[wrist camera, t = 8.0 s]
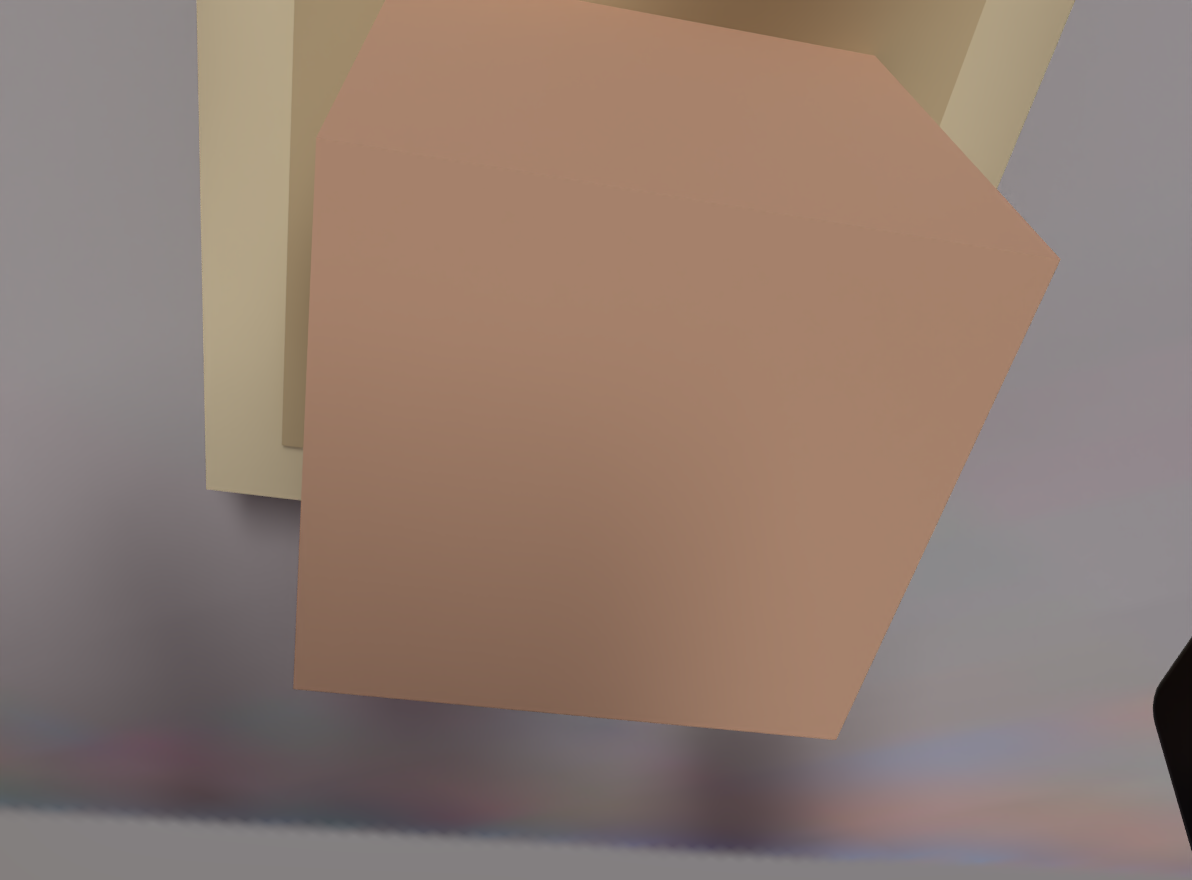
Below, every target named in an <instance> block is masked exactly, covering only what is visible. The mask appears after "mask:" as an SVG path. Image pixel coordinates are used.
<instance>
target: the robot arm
mask: <svg viewBox="0 0 1192 880" xmlns="http://www.w3.org/2000/svg"><path fill="white" fill-rule="evenodd" d="M1153 717H1154V722H1155V726H1156V729H1157V733H1158V736H1159V740H1160V743H1161V747H1162V750H1163V753H1164V757H1165V760H1166V764H1167V767H1168V771H1169V774H1170V778H1171V781H1172V785H1173V788H1174V791H1175V795H1176V798H1177V802H1178V805H1179V809H1180V812H1181V816H1182V819H1183V823H1184V826H1185V830H1186V833H1187V836H1188V840H1189V843H1190V847H1191V850H1192V637H1191V639H1190V640H1189V642H1188V643H1187V645H1186V646H1185V647H1184V649H1183V650H1182V652H1181V653H1180V655H1179V656H1178V658H1177V659H1176V660H1175V662H1174V663H1173V665H1172V666H1171V668H1170V669H1169V671H1168V672H1167V673H1166V675H1165V676H1164V678H1163V679H1162V681H1161V682H1160V684H1159V686H1158V687H1157V689H1156V693H1155V696H1154V701H1153Z"/></svg>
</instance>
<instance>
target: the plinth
mask: <svg viewBox="0 0 1192 880" xmlns="http://www.w3.org/2000/svg"><path fill="white" fill-rule="evenodd" d="M580 1H585V2H590V3H596V4H601V5H606V6H612V7H617V8H622V9H628V10H633V11H639V12H644V13H649V14H655V15H660V16H665V17H671V18H676V19H681V20H687V21H692V22H697V23H703V24H708V25H713V26H719V27H724V28H729V29H735V30H740V31H745V32H751V33H756V34H761V35H767V36H772V37H777V38H783V39H788V40H794V41H799V42H804V43H810V44H815V45H820V46H826V47H831V48H836V49H842V50H847V51H852V52H858V53H863V54H868V55H874V56H876V57H877V58H878V59H879V61H880V62H881V63H882V64H883V65H884V66H885V67H886V68H887V69H888V70H889V72H890V73H891V74H892V75H893V76H894V77H895V78H896V79H897V80H898V81H899V83H900V84H901V85H902V86H903V87H904V88H905V89H906V90H907V91H908V92H909V94H910V95H911V96H912V97H913V98H914V99H915V100H916V101H917V102H918V103H919V104H920V106H921V107H922V108H923V109H924V110H925V111H926V112H927V113H928V114H929V115H930V117H931V118H932V119H933V120H934V121H935V122H936V123H937V124H938V125H939V126H940V128H941V129H942V130H943V131H944V132H945V133H946V134H947V135H948V136H949V137H950V139H951V140H952V141H953V142H954V143H955V144H956V145H957V146H958V147H959V148H960V150H961V151H962V152H963V153H964V154H965V155H966V156H967V157H968V158H969V159H970V161H971V162H972V163H973V164H974V165H975V166H976V167H977V168H978V169H979V170H980V172H981V173H982V174H983V175H984V176H985V177H986V178H987V179H988V180H989V181H990V183H991V184H992V185H993V186H994V187H995V188H996V189H997V187H998V185H999V183H1000V180H1001V178H1002V175H1003V173H1004V171H1005V168H1006V166H1007V163H1008V161H1009V158H1010V156H1011V154H1012V151H1013V149H1014V146H1015V144H1016V142H1017V139H1018V137H1019V134H1020V132H1021V130H1022V127H1023V125H1024V122H1025V120H1026V118H1027V115H1028V113H1029V110H1030V108H1031V105H1032V103H1033V101H1034V98H1035V96H1036V93H1037V91H1038V89H1039V86H1040V84H1041V81H1042V79H1043V77H1044V74H1045V72H1046V69H1047V67H1048V65H1049V62H1050V60H1051V57H1052V55H1053V53H1054V50H1055V48H1056V45H1057V43H1058V40H1059V38H1060V36H1061V33H1062V31H1063V28H1064V26H1065V24H1066V21H1067V19H1068V16H1069V14H1070V12H1071V9H1072V7H1073V4H1074V2H1075V0H580ZM384 2H385V0H197V44H198V95H199V146H200V196H201V247H202V297H203V348H204V399H205V449H206V489H208V490H217V491H225V492H234V493H242V494H251V495H259V496H267V497H276V498H284V499H293V500H301V491H302V467H303V443H304V419H305V395H306V371H307V347H308V323H309V298H310V274H311V250H312V226H313V202H314V178H315V154H316V137H317V135H318V133H319V131H320V129H321V127H322V125H323V123H324V121H325V119H326V117H327V115H328V113H329V111H330V109H331V107H332V105H333V103H334V101H335V99H336V97H337V95H338V93H339V91H340V89H341V87H342V85H343V83H344V81H345V79H346V77H347V75H348V73H349V71H350V69H351V67H352V65H353V63H354V61H355V59H356V57H357V55H358V53H359V51H360V49H361V47H362V45H363V43H364V41H365V39H366V37H367V35H368V33H369V31H370V29H371V27H372V25H373V23H374V21H375V19H376V18H377V16H378V14H379V12H380V10H381V8H382V6H383V4H384Z"/></svg>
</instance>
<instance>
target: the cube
mask: <svg viewBox="0 0 1192 880" xmlns="http://www.w3.org/2000/svg"><path fill="white" fill-rule="evenodd" d="M1059 261H1060V258H1059V257H1058V256H1057V255H1056V254H1055V253H1054V252H1053V251H1052V250H1051V248H1050V247H1049V246H1048V245H1047V244H1046V243H1045V242H1044V241H1043V240H1042V239H1041V237H1040V236H1039V235H1038V234H1037V233H1036V232H1035V231H1034V230H1033V229H1032V228H1031V226H1030V225H1029V224H1028V223H1027V222H1026V221H1025V220H1024V219H1023V218H1022V217H1021V215H1020V214H1019V213H1018V212H1017V211H1016V210H1015V209H1014V208H1013V207H1012V206H1011V204H1010V203H1009V202H1008V201H1007V200H1006V199H1005V198H1004V197H1003V196H1002V195H1001V193H1000V192H999V191H998V190H997V189H996V188H995V187H994V186H993V185H992V184H991V183H990V181H989V180H988V179H987V178H986V177H985V176H984V175H983V174H982V173H981V172H980V170H979V169H978V168H977V167H976V166H975V165H974V164H973V163H972V162H971V161H970V159H969V158H968V157H967V156H966V155H965V154H964V153H963V152H962V151H961V150H960V148H959V147H958V146H957V145H956V144H955V143H954V142H953V141H952V140H951V139H950V137H949V136H948V135H947V134H946V133H945V132H944V131H943V130H942V129H941V128H940V126H939V125H938V124H937V123H936V122H935V121H934V120H933V119H932V118H931V117H930V115H929V114H928V113H927V112H926V111H925V110H924V109H923V108H922V107H921V106H920V104H919V103H918V102H917V101H916V100H915V99H914V98H913V97H912V96H911V95H910V94H909V92H908V91H907V90H906V89H905V88H904V87H903V86H902V85H901V84H900V83H899V81H898V80H897V79H896V78H895V77H894V76H893V75H892V74H891V73H890V72H889V70H888V69H887V68H886V67H885V66H884V65H883V64H882V63H881V62H880V61H879V59H878V58H877V57H876V56H874V55H868V54H863V53H858V52H852V51H847V50H842V49H836V48H831V47H826V46H820V45H815V44H810V43H804V42H799V41H794V40H788V39H783V38H777V37H772V36H767V35H761V34H756V33H751V32H745V31H740V30H735V29H729V28H724V27H719V26H713V25H708V24H703V23H697V22H692V21H687V20H681V19H676V18H671V17H665V16H660V15H655V14H649V13H644V12H639V11H633V10H628V9H622V8H617V7H612V6H606V5H601V4H596V3H590V2H585V1H580V0H385V2H384V4H383V6H382V8H381V10H380V12H379V14H378V16H377V18H376V19H375V21H374V23H373V25H372V27H371V29H370V31H369V33H368V35H367V37H366V39H365V41H364V43H363V45H362V47H361V49H360V51H359V53H358V55H357V57H356V59H355V61H354V63H353V65H352V67H351V69H350V71H349V73H348V75H347V77H346V79H345V81H344V83H343V85H342V87H341V89H340V91H339V93H338V95H337V97H336V99H335V101H334V103H333V105H332V107H331V109H330V111H329V113H328V115H327V117H326V119H325V121H324V123H323V125H322V127H321V129H320V131H319V133H318V135H317V137H316V154H315V178H314V202H313V226H312V250H311V274H310V298H309V323H308V347H307V371H306V395H305V419H304V443H303V467H302V491H301V516H300V540H299V564H298V588H297V612H296V636H295V660H294V684H293V689H298V690H309V691H320V692H330V693H341V694H352V695H362V696H373V697H383V698H394V699H405V700H415V701H426V702H437V703H447V704H458V705H469V706H479V707H490V708H501V709H511V710H522V711H533V712H543V713H554V714H564V715H575V716H586V717H596V718H607V719H618V720H628V721H639V722H650V723H660V724H671V725H682V726H692V727H703V728H713V729H724V730H735V731H745V732H756V733H767V734H777V735H788V736H799V737H809V738H820V739H831V740H836V739H837V737H838V735H839V732H840V730H841V728H842V726H843V724H844V722H845V720H846V717H847V715H848V713H849V711H850V709H851V707H852V705H853V702H854V700H855V698H856V696H857V694H858V692H859V690H860V687H861V685H862V683H863V681H864V679H865V677H866V675H867V672H868V670H869V668H870V666H871V664H872V662H873V660H874V657H875V655H876V653H877V651H878V649H879V647H880V645H881V643H882V640H883V638H884V636H885V634H886V632H887V630H888V628H889V625H890V623H891V621H892V619H893V617H894V615H895V613H896V610H897V608H898V606H899V604H900V602H901V600H902V598H903V595H904V593H905V591H906V589H907V587H908V585H909V583H910V580H911V578H912V576H913V574H914V572H915V570H916V568H917V565H918V563H919V561H920V559H921V557H922V555H923V553H924V550H925V548H926V546H927V544H928V542H929V540H930V538H931V535H932V533H933V531H934V529H935V527H936V525H937V523H938V520H939V518H940V516H941V514H942V512H943V510H944V508H945V506H946V503H947V501H948V499H949V497H950V495H951V493H952V491H953V488H954V486H955V484H956V482H957V480H958V478H959V476H960V473H961V471H962V469H963V467H964V465H965V463H966V461H967V458H968V456H969V454H970V452H971V450H972V448H973V446H974V443H975V441H976V439H977V437H978V435H979V433H980V431H981V428H982V426H983V424H984V422H985V420H986V418H987V416H988V413H989V411H990V409H991V407H992V405H993V403H994V401H995V398H996V396H997V394H998V392H999V390H1000V388H1001V386H1002V383H1003V381H1004V379H1005V377H1006V375H1007V373H1008V371H1009V368H1010V366H1011V364H1012V362H1013V360H1014V358H1015V356H1016V354H1017V351H1018V349H1019V347H1020V345H1021V343H1022V341H1023V339H1024V336H1025V334H1026V332H1027V330H1028V328H1029V326H1030V324H1031V321H1032V319H1033V317H1034V315H1035V313H1036V311H1037V309H1038V306H1039V304H1040V302H1041V300H1042V298H1043V296H1044V294H1045V291H1046V289H1047V287H1048V285H1049V283H1050V281H1051V279H1052V276H1053V274H1054V272H1055V270H1056V268H1057V266H1058V264H1059Z"/></svg>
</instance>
